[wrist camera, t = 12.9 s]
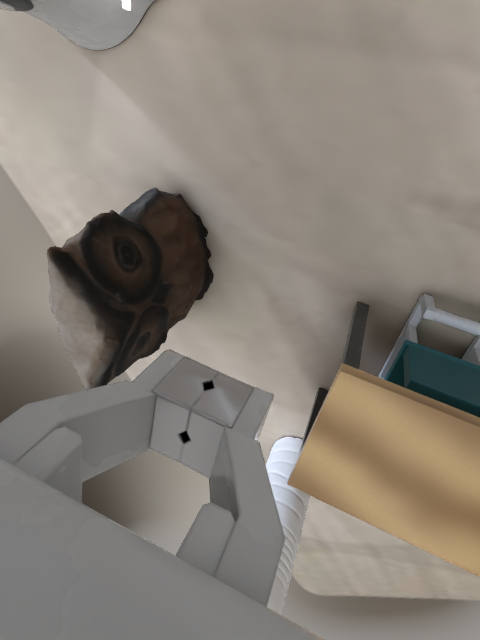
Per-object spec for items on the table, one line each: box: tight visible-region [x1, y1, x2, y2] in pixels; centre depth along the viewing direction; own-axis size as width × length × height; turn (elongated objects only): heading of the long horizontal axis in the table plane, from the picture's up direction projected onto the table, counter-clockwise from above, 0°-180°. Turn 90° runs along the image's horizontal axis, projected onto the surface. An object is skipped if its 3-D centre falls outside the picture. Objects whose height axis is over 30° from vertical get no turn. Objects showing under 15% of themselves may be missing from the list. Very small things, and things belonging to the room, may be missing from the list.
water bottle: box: [266, 437, 310, 615], centre depth 41 cm, size 9×6×25 cm
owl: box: [47, 188, 213, 390], centre depth 36 cm, size 13×13×20 cm
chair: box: [378, 294, 480, 418], centre depth 34 cm, size 12×8×12 cm, turn 167°
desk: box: [287, 302, 480, 577], centre depth 35 cm, size 14×18×14 cm
